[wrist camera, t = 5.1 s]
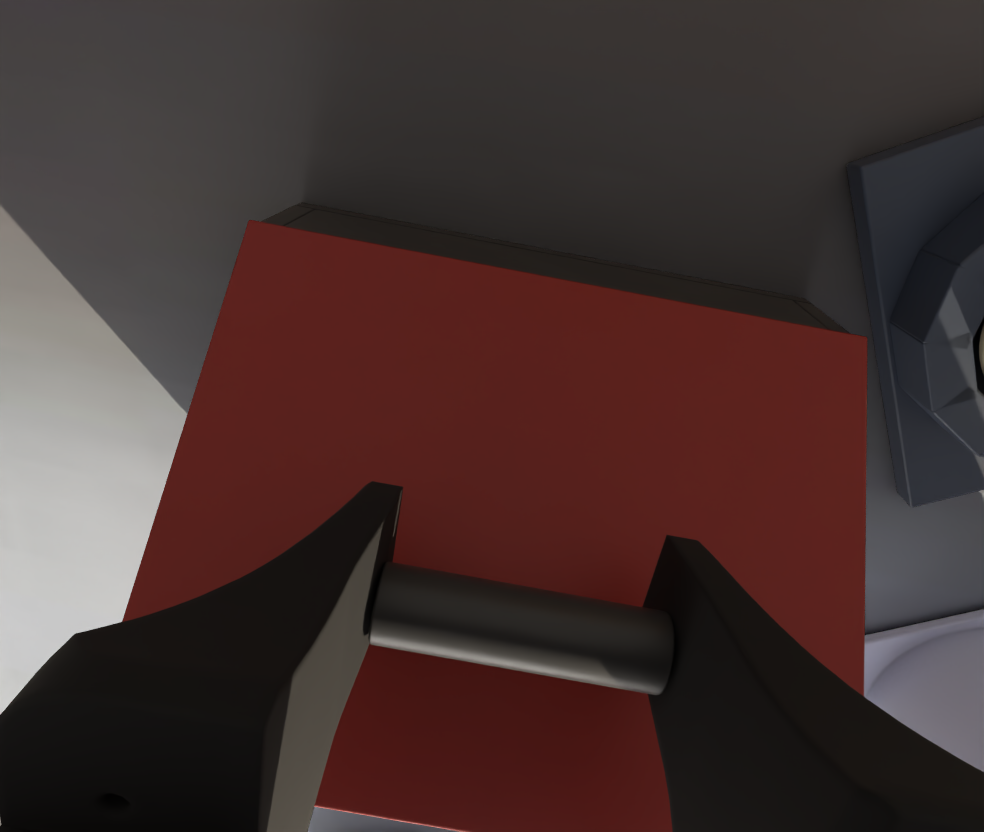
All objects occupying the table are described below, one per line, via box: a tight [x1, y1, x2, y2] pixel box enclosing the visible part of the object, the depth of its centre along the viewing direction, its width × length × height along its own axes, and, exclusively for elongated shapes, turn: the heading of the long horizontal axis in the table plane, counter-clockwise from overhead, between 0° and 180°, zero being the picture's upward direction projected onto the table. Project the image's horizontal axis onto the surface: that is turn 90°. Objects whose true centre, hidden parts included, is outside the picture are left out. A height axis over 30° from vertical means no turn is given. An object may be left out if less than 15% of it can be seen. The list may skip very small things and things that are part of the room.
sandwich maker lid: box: [122, 220, 867, 832], centre depth 14 cm, size 12×15×4 cm
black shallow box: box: [261, 203, 850, 334], centre depth 22 cm, size 11×15×4 cm
